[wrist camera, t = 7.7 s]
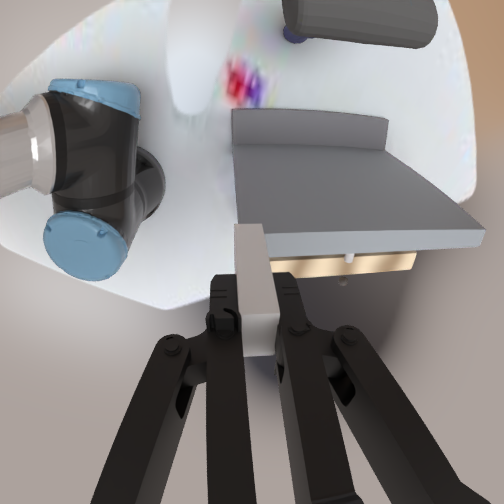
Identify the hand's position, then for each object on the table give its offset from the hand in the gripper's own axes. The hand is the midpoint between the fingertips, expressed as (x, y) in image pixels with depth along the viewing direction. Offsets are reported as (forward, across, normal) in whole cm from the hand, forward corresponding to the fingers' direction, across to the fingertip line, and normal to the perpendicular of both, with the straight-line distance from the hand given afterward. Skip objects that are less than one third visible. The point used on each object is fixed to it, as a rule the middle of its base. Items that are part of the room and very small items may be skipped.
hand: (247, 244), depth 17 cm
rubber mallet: (+37, +9, +17) cm, 41 cm away
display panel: (+37, +14, -4) cm, 39 cm away
